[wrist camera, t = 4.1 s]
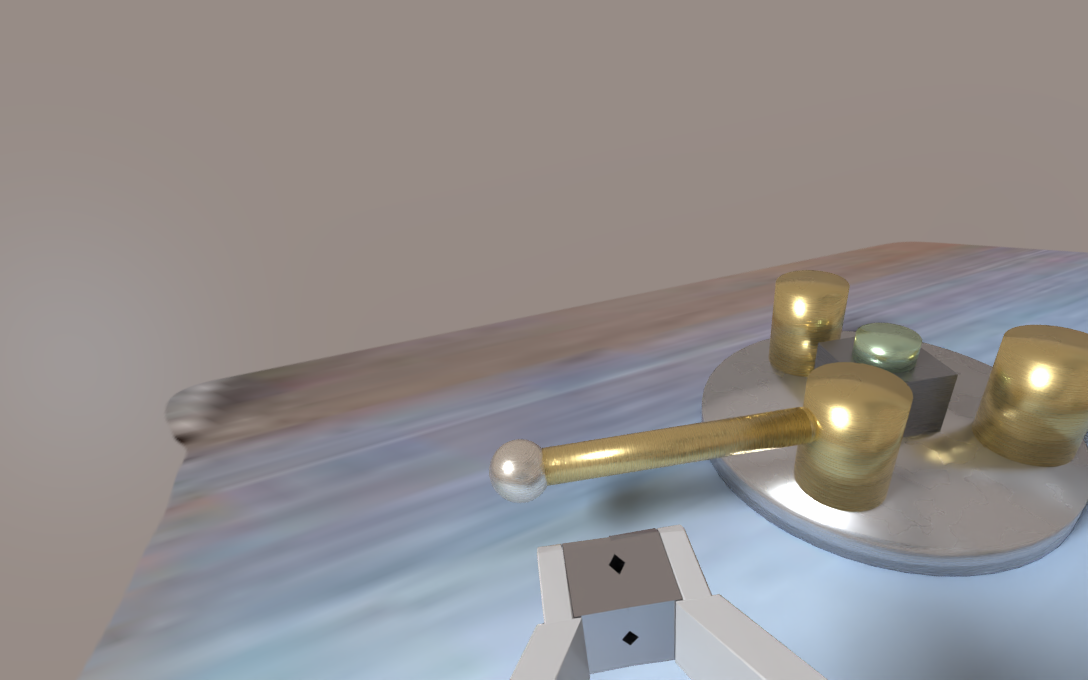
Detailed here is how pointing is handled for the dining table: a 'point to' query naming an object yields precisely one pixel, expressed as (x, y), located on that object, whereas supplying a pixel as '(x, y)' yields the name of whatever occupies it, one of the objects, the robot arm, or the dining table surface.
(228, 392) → the dining table surface
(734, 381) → the tribrach
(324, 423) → the dining table surface
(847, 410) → the brass lever handle
